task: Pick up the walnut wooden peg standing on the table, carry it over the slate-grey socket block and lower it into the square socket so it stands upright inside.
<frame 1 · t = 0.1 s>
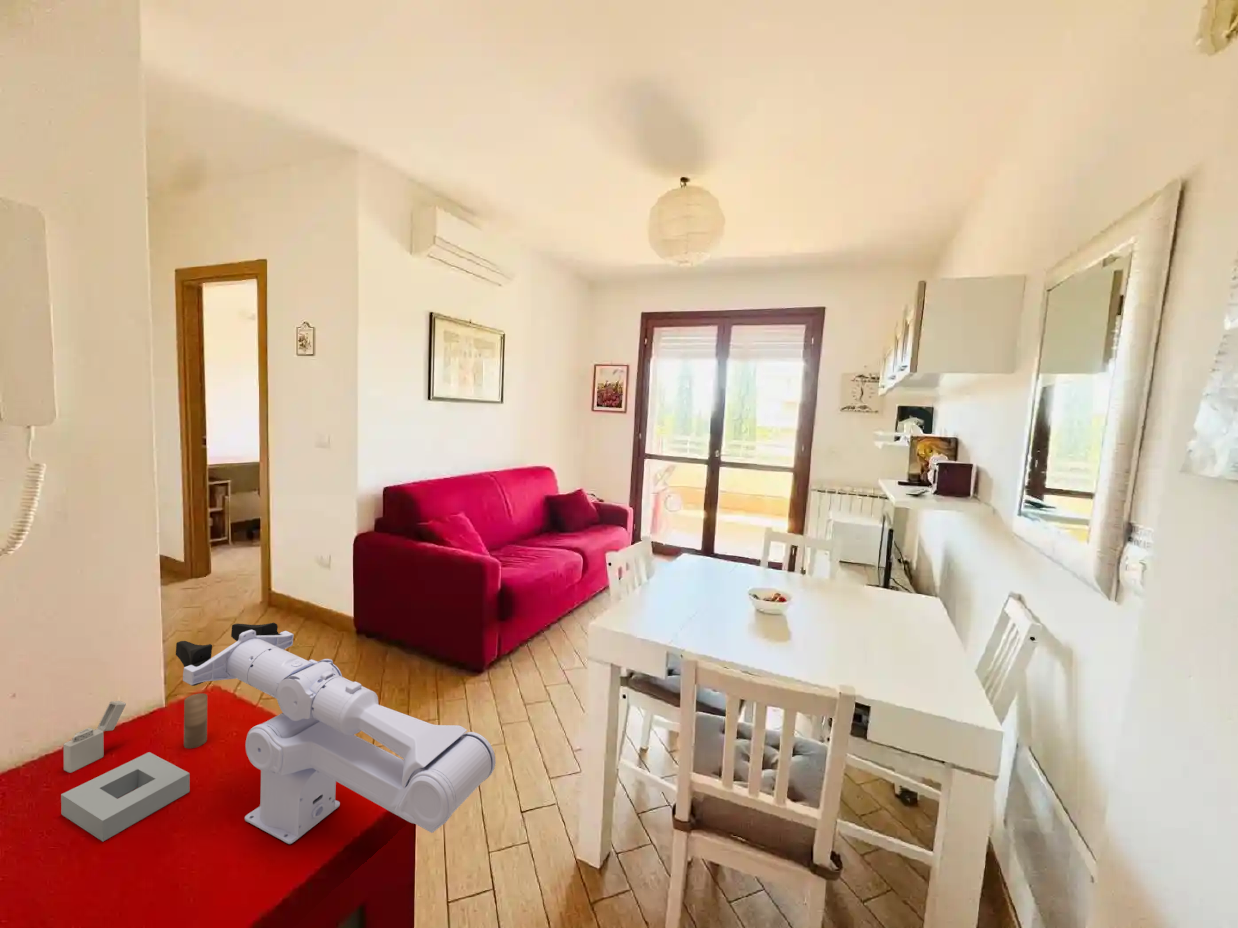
hand: (207, 638, 79), 22 cm above the table, tool horizontal, fingers open, 7 cm apart
walnut peg: (195, 742, 87), on the table
socket block: (128, 802, 74), on the table
lighter: (96, 758, 82), on the table
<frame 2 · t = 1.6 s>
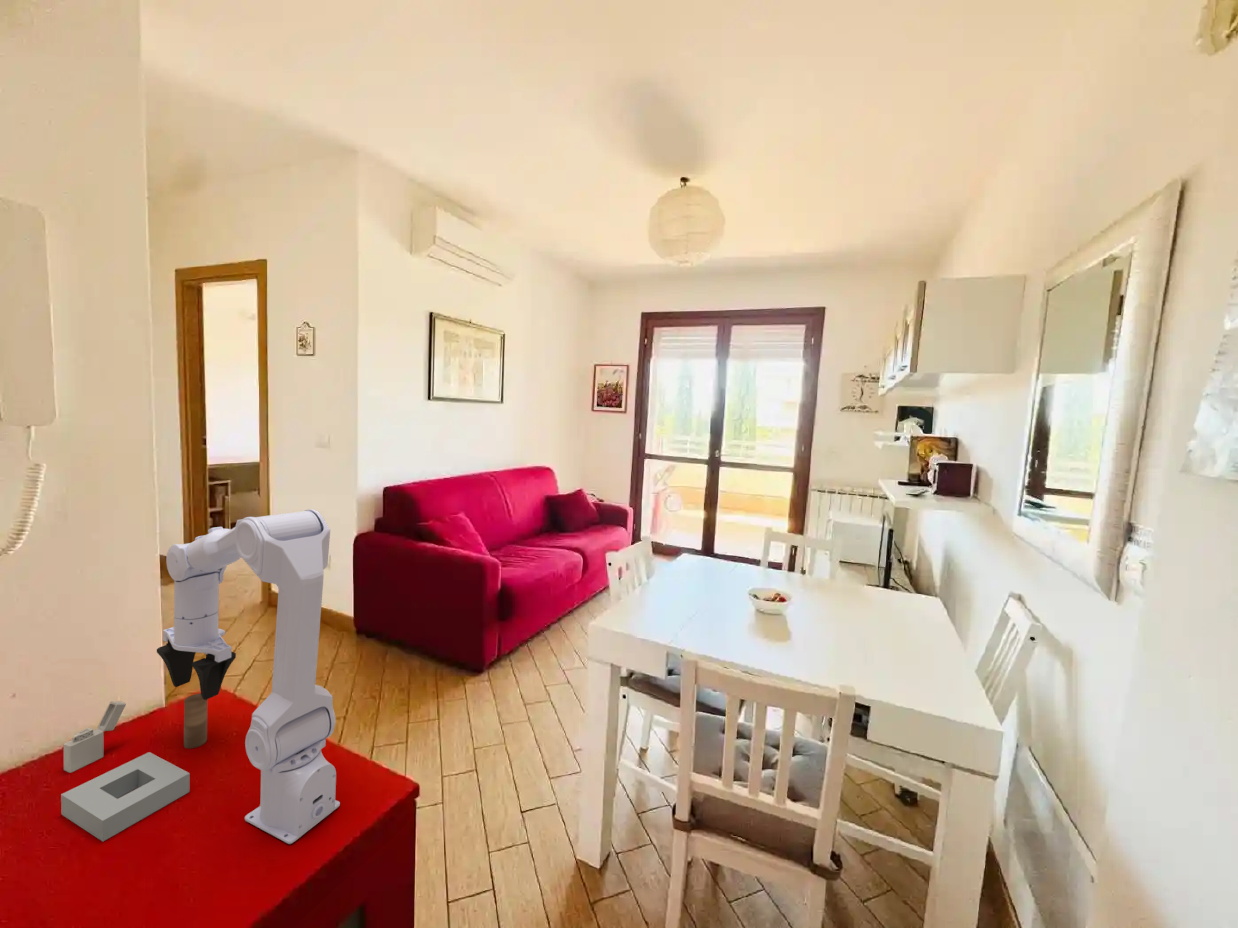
hand: (196, 690, 86), 9 cm above the table, tool pointing down, fingers open, 7 cm apart
nothing on the table moved.
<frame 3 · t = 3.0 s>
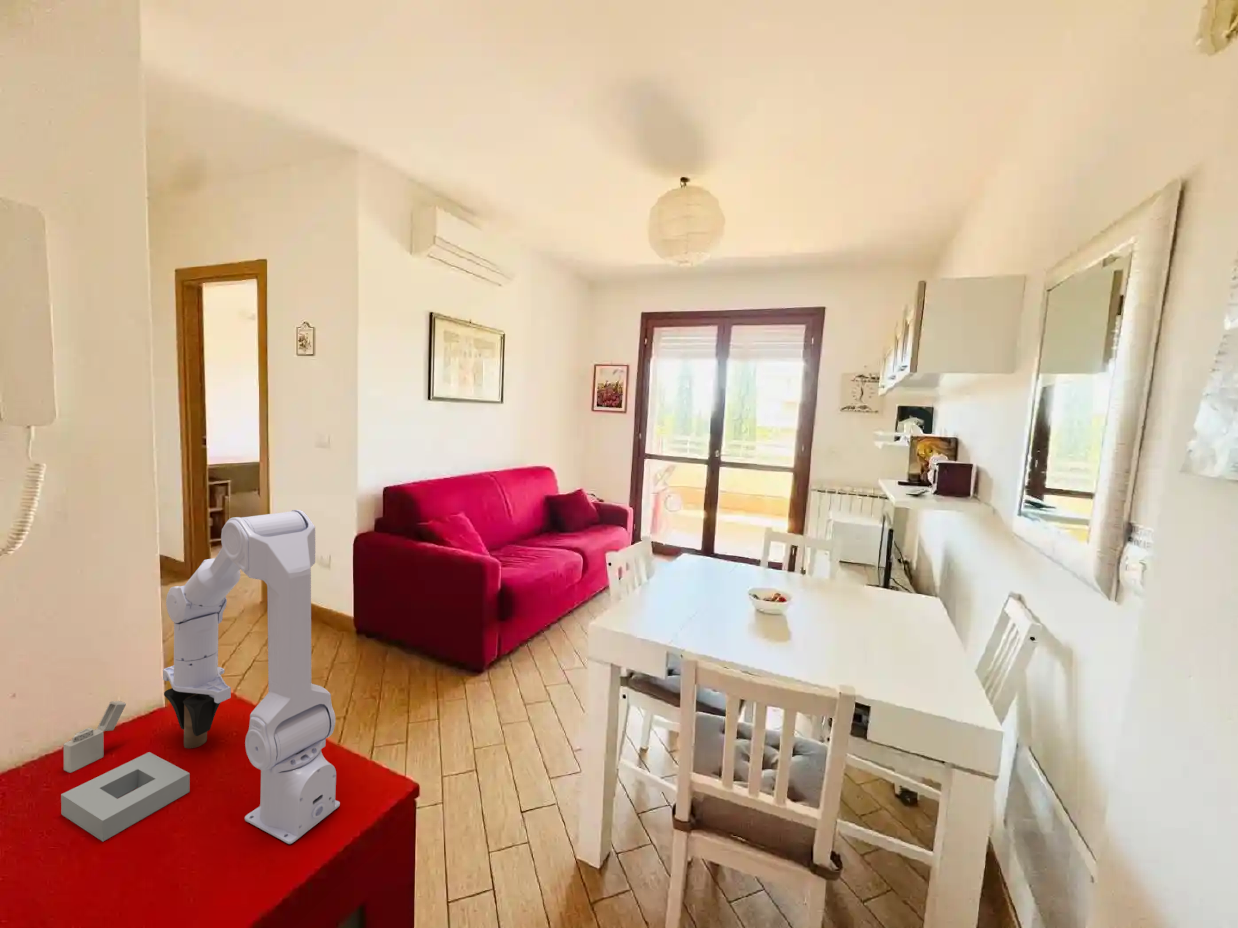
hand: (195, 729, 87), 2 cm above the table, tool pointing down, fingers closed on walnut peg, 3 cm apart
walnut peg: (195, 742, 87), on the table, touching gripper
everything else where it was.
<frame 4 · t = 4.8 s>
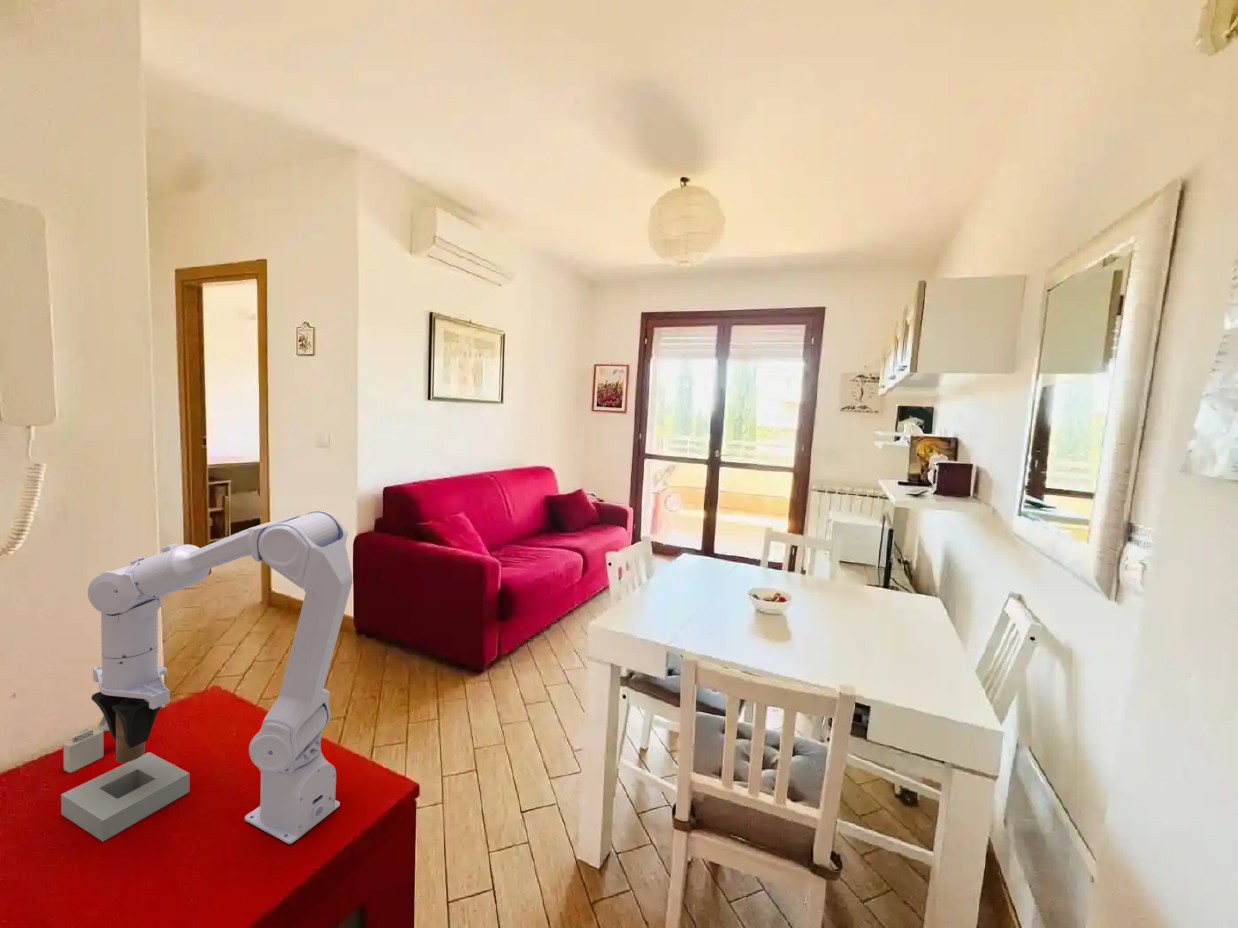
hand: (130, 739, 73), 9 cm above the table, tool pointing down, fingers closed on walnut peg, 3 cm apart
walnut peg: (130, 755, 73), point 7 cm above the table, touching gripper
everything else where it was.
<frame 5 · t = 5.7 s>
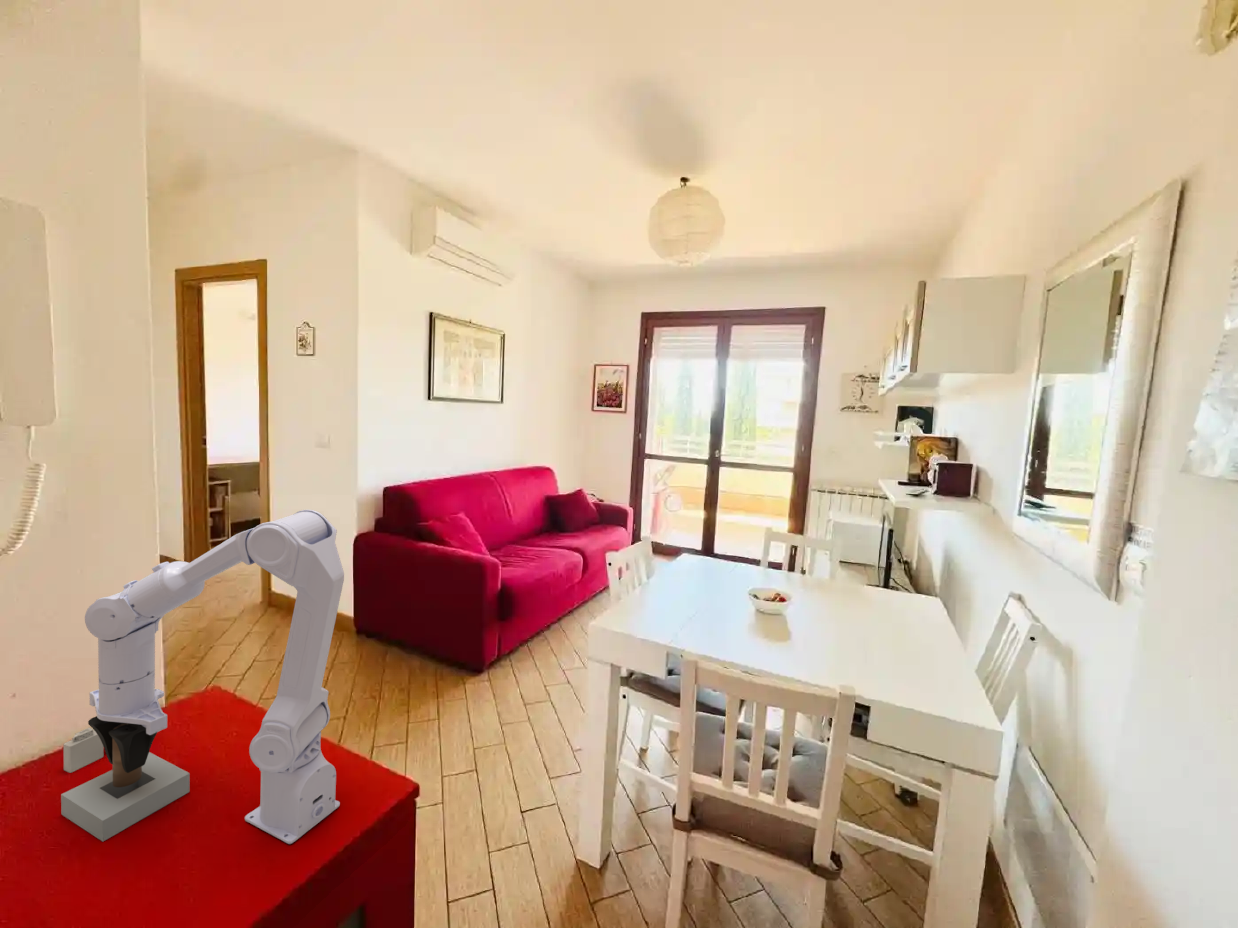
hand: (127, 763, 73), 6 cm above the table, tool pointing down, fingers closed on walnut peg, 3 cm apart
walnut peg: (127, 779, 73), point 4 cm above the table, touching gripper
everything else where it was.
when the fingers open (4 cm above the table, at t = 6.6 s): walnut peg drops 1 cm, resting in socket block.
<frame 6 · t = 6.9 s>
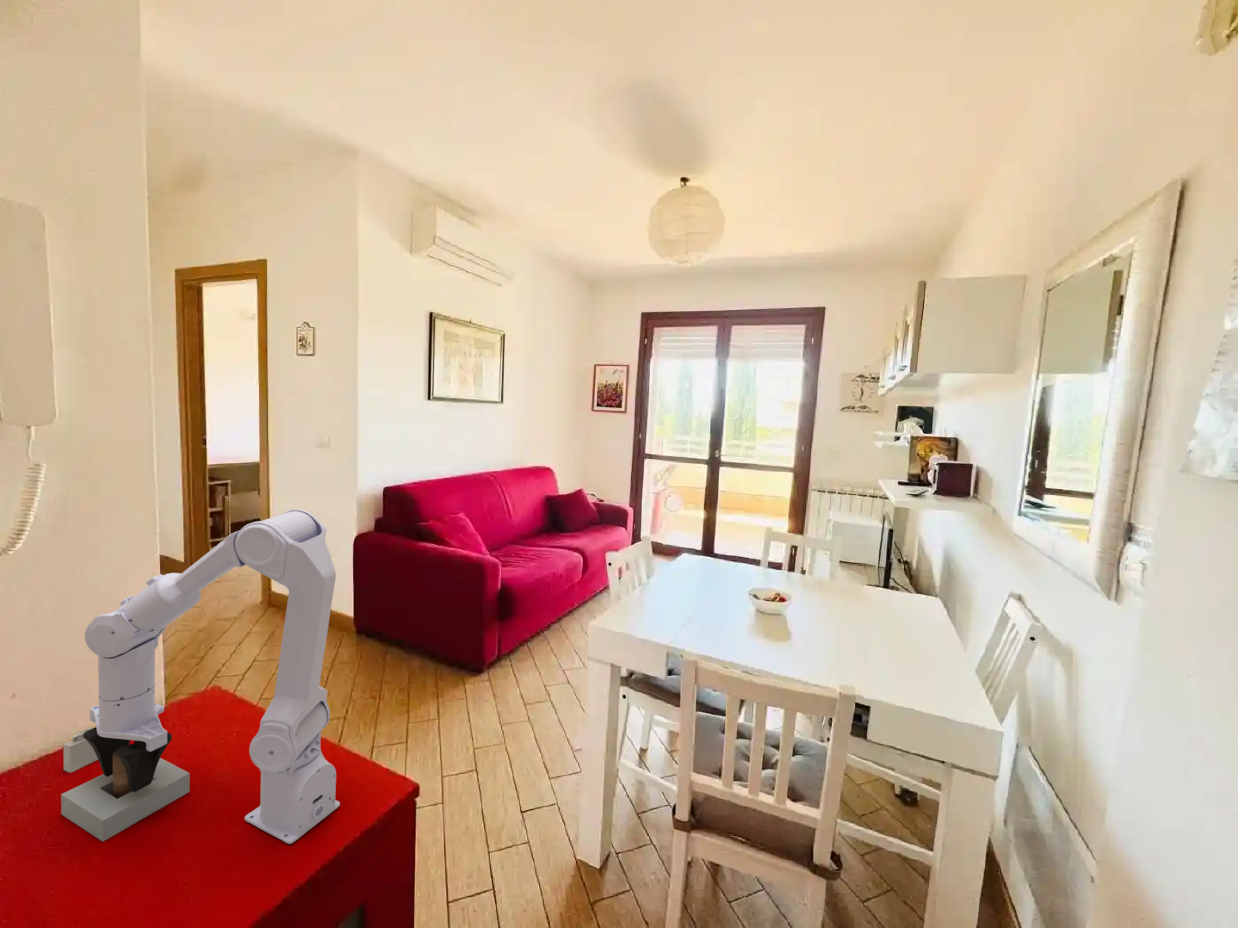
hand: (127, 779, 73), 4 cm above the table, tool pointing down, fingers open, 6 cm apart
walnut peg: (127, 802, 74), resting in socket block
everything else where it was.
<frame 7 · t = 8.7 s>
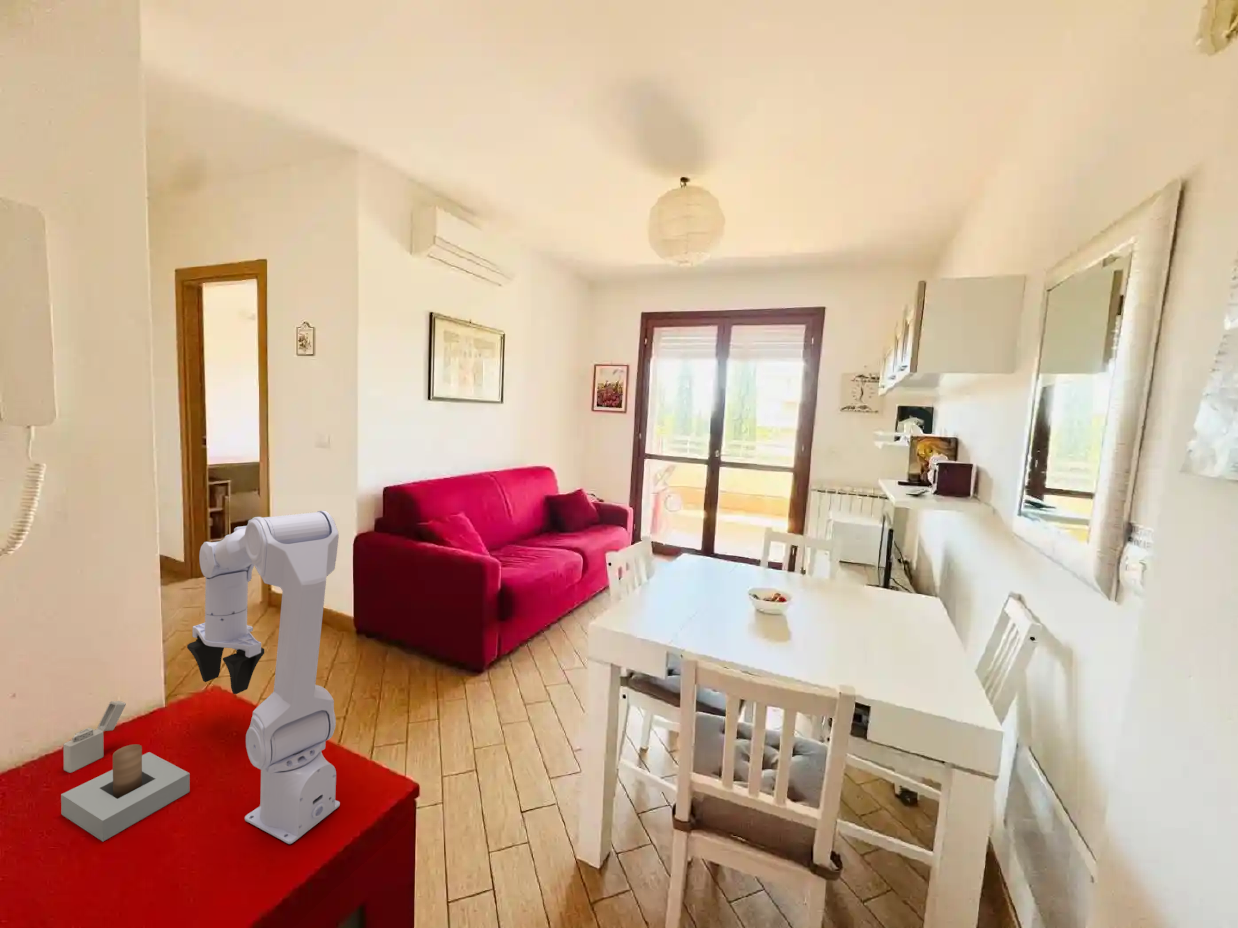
hand: (225, 684, 88), 9 cm above the table, tool pointing down, fingers open, 7 cm apart
nothing on the table moved.
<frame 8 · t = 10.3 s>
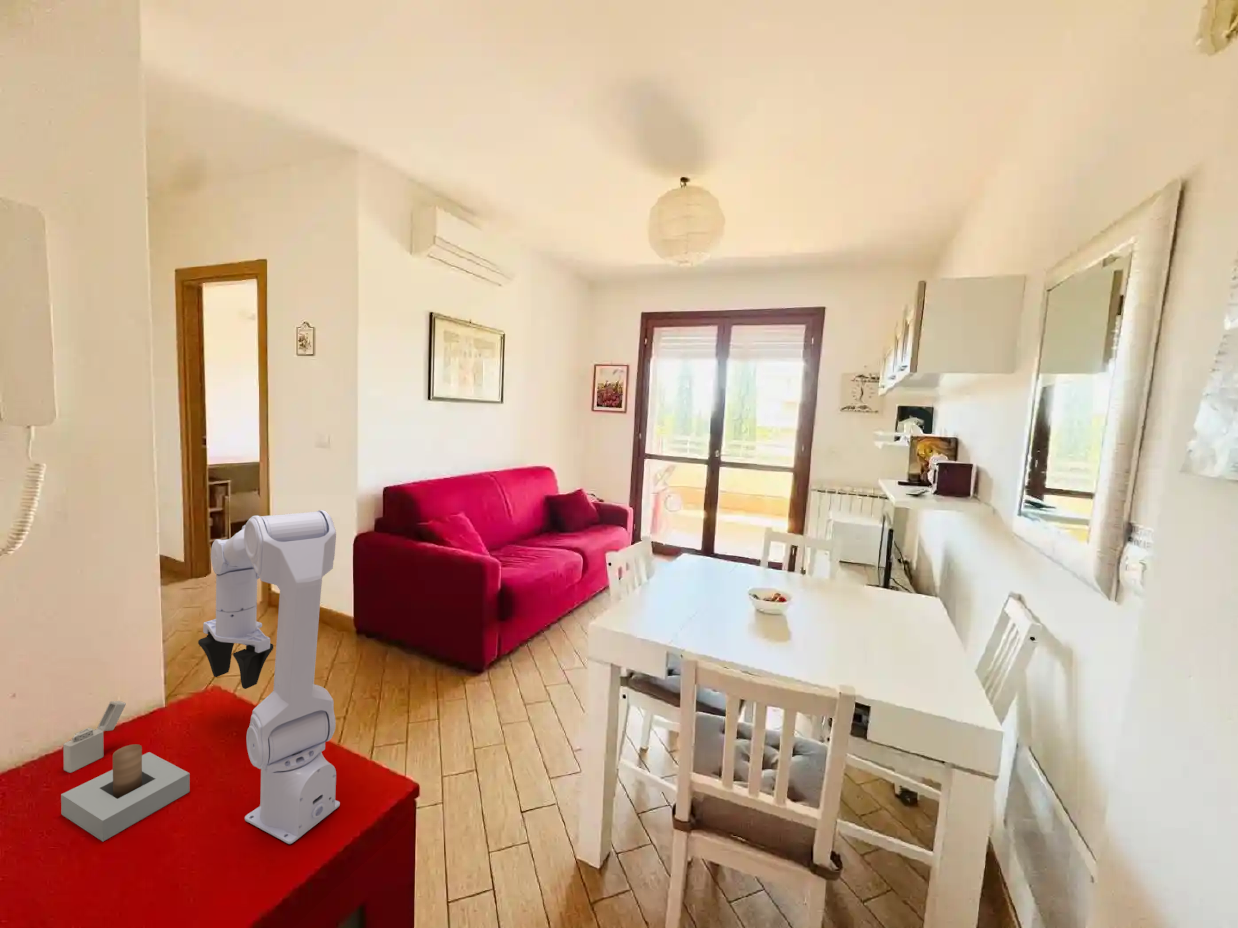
hand: (235, 679, 90), 9 cm above the table, tool pointing down, fingers open, 7 cm apart
nothing on the table moved.
at the end: walnut peg 0.0 cm off-centre on the socket block, point 0.0 cm above the socket block's base; walnut peg tilted 0°; the gripper is holding nothing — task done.
